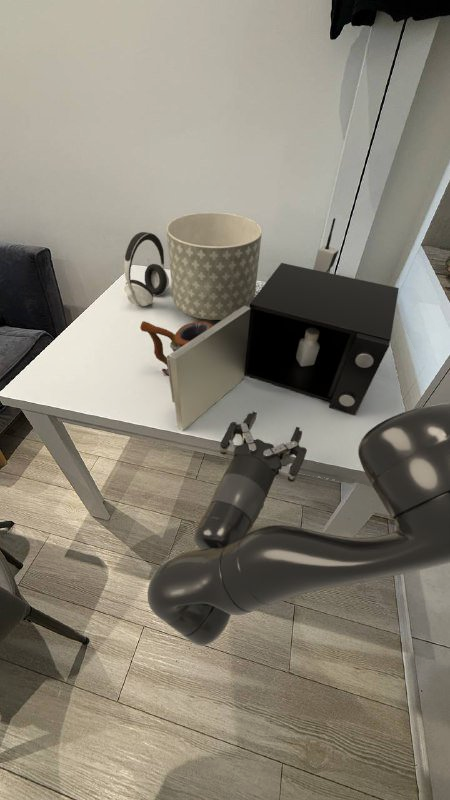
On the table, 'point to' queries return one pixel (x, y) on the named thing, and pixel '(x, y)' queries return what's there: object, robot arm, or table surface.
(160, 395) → the table surface
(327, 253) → the vintage mobile phone
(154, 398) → the table surface
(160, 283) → the headphones
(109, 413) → the table surface
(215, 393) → the microwave door
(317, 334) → the pepper shaker
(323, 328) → the microwave
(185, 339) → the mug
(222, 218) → the planter
